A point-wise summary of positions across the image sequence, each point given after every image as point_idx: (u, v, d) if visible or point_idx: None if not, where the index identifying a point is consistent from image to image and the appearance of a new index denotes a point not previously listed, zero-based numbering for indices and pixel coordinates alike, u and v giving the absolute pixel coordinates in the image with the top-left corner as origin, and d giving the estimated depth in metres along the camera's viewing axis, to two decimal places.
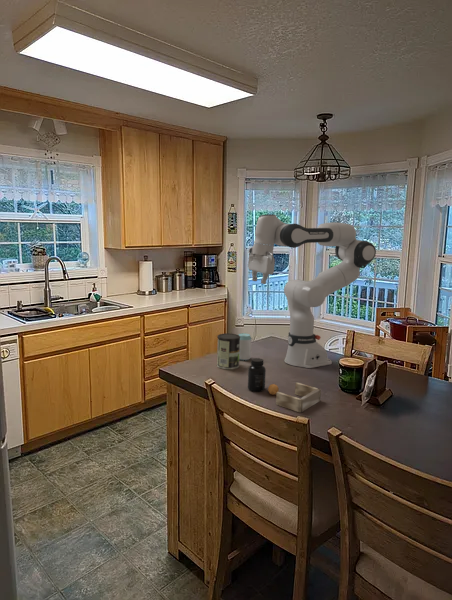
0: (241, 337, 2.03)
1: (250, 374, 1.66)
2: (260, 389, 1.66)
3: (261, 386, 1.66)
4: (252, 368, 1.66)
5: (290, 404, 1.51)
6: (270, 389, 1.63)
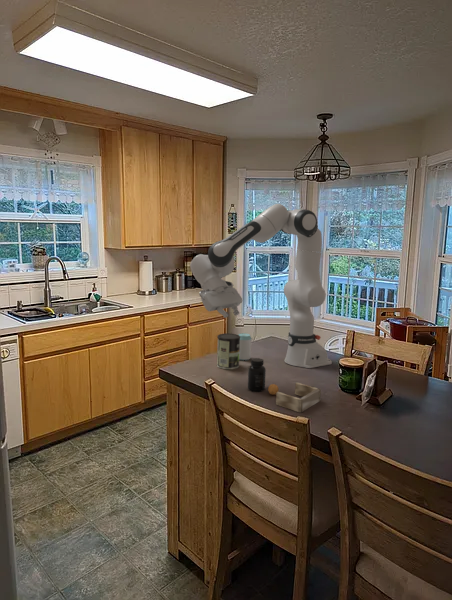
0: (241, 337, 2.03)
1: (250, 374, 1.66)
2: (260, 389, 1.66)
3: (261, 386, 1.66)
4: (252, 368, 1.66)
5: (290, 404, 1.51)
6: (270, 389, 1.63)
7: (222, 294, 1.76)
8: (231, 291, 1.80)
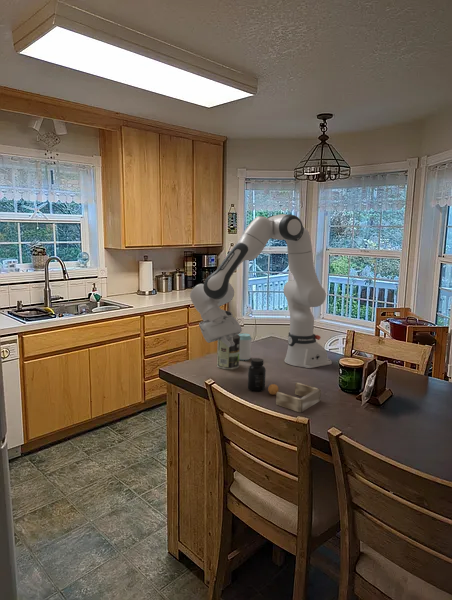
0: (241, 337, 2.03)
1: (250, 374, 1.66)
2: (260, 389, 1.66)
3: (261, 386, 1.66)
4: (252, 368, 1.66)
5: (290, 404, 1.51)
6: (270, 389, 1.63)
7: (222, 324, 1.78)
8: (230, 321, 1.82)
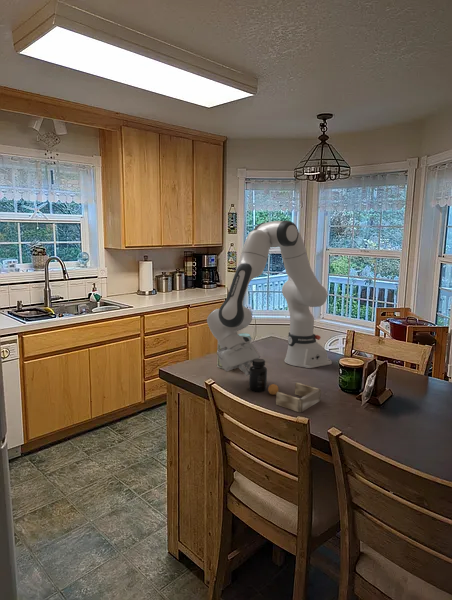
0: None
1: (252, 375, 1.66)
2: (262, 389, 1.66)
3: (263, 386, 1.66)
4: (254, 369, 1.65)
5: (290, 404, 1.51)
6: (270, 389, 1.63)
7: (239, 351, 1.73)
8: (248, 347, 1.78)
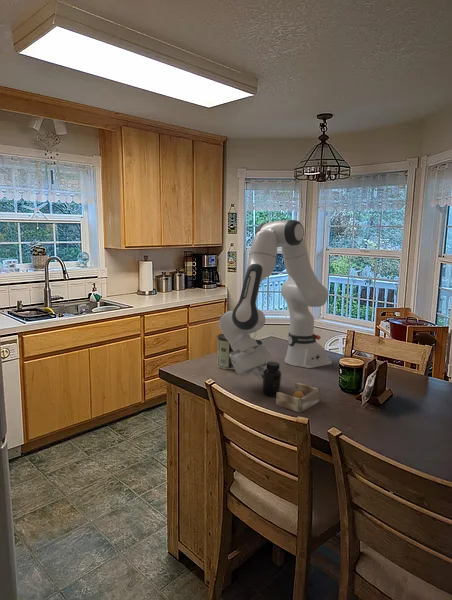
0: None
1: (267, 379, 1.61)
2: None
3: (278, 390, 1.63)
4: (269, 373, 1.61)
5: (290, 404, 1.51)
6: None
7: (252, 355, 1.69)
8: (261, 350, 1.73)
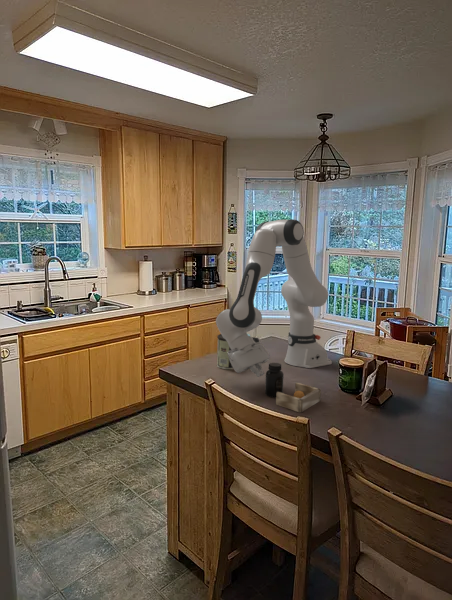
0: None
1: (270, 380, 1.61)
2: None
3: (281, 391, 1.62)
4: (272, 373, 1.61)
5: (290, 404, 1.51)
6: (295, 396, 1.58)
7: (250, 352, 1.70)
8: (258, 348, 1.75)
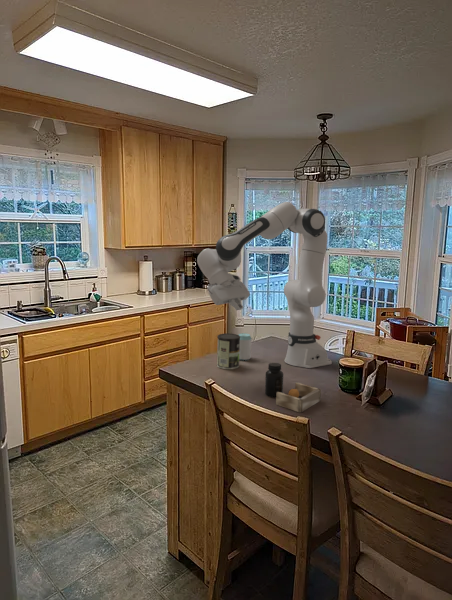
0: (241, 337, 2.03)
1: (270, 380, 1.61)
2: None
3: (281, 391, 1.62)
4: (271, 373, 1.61)
5: (290, 404, 1.51)
6: None
7: (229, 288, 1.76)
8: (238, 285, 1.80)
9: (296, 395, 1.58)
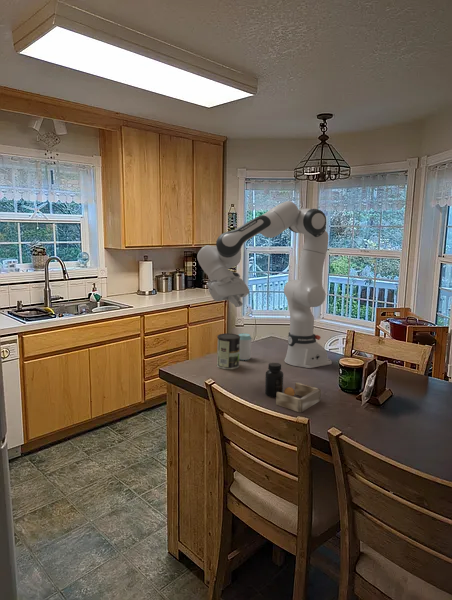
0: (241, 337, 2.03)
1: (270, 380, 1.61)
2: None
3: (281, 391, 1.62)
4: (271, 373, 1.61)
5: (290, 404, 1.51)
6: None
7: (229, 285, 1.76)
8: (238, 282, 1.81)
9: (289, 389, 1.60)
